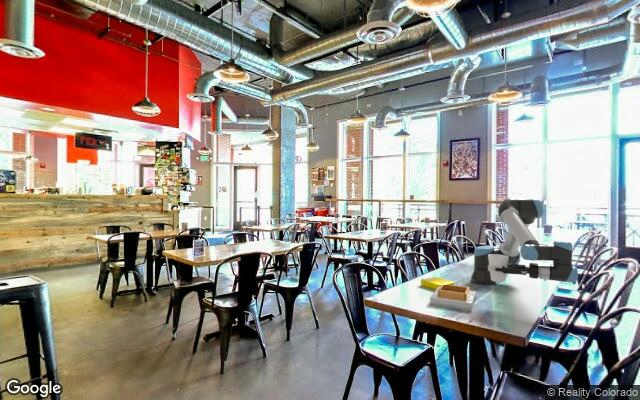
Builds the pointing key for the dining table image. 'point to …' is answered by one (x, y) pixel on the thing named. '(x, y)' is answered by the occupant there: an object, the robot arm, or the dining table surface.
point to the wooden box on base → (453, 297)
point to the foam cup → (498, 261)
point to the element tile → (434, 282)
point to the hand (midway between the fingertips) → (488, 266)
